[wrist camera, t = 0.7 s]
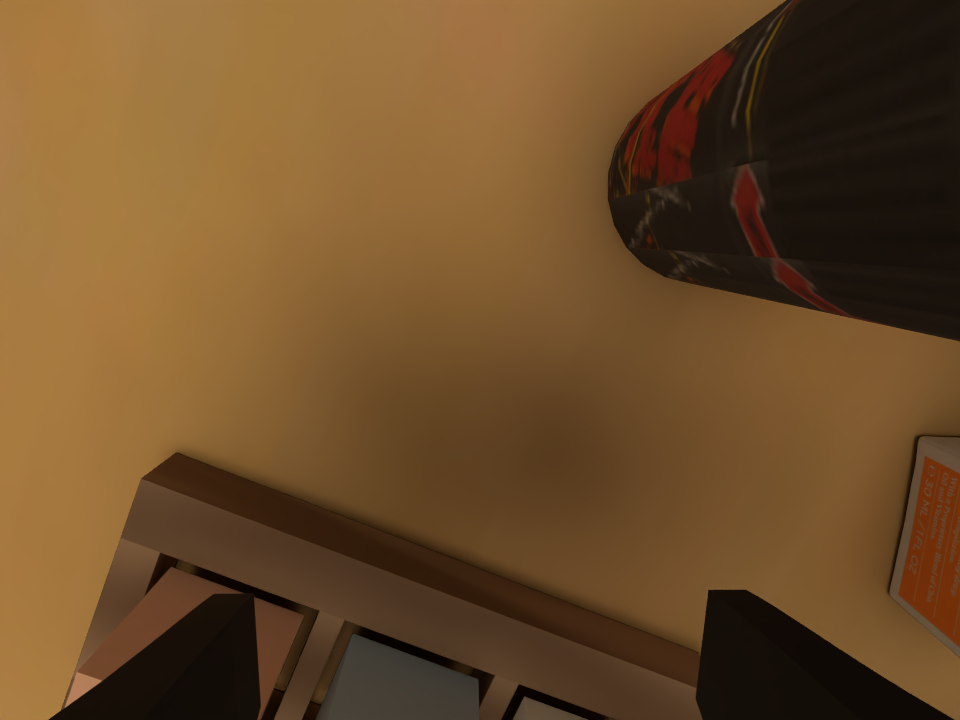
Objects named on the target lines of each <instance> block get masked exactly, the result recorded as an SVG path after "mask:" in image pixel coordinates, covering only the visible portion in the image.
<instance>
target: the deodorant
mask: <svg viewBox="0 0 960 720" xmlns="http://www.w3.org/2000/svg"><path fill="white" fill-rule="evenodd" d="M608 201H609V205H610V209H611V214H612V218H613V222H614V225H615V227H616V229H617V231H618V233H619V234H620V236H621V238H622V240H623V242H624V244H625V245H626V247H627V248H628V249H629V250H630V251H631V252H632V253H633V254H634V255H635V256H636V257H637V258H638V259H639V260H640V261H641V262H642V263H643V264H644V265H645V266H647V267H649V268H650V269H652V270H654V271H656V272H657V273H659V274H661V275H663V276H664V277H668V278H671V279H675V280H679V281H683V282H687V283H691V284H696V285H701V286H705V287H710V288H715V289H719V290H724V291H729V292H733V293H738V294H743V295H747V296H752V297H757V298H761V299H766V300H771V301H775V302H780V303H785V304H789V305H794V306H799V307H803V308H808V309H812V310H817V311H822V312H826V313H831V314H836V315H840V316H845V317H850V318H854V319H859V320H864V321H868V322H873V323H878V324H882V325H887V326H892V327H896V328H901V329H906V330H910V331H915V332H920V333H924V334H929V335H934V336H938V337H943V338H947V339H952V340H957V341H960V0H786V1H785V2H784V3H782V4H781V5H780V6H778V7H777V8H776V9H774V10H773V11H772V12H770V13H769V14H768V15H766V16H765V17H763V18H762V19H761V20H759V21H758V22H757V23H755V24H754V25H753V26H751V27H750V28H749V29H747V30H746V31H745V32H743V33H742V34H740V35H739V36H738V37H736V38H735V39H734V40H732V41H731V42H730V43H728V44H727V45H726V46H724V47H723V48H722V49H720V50H719V51H717V52H716V53H715V54H713V55H712V56H711V57H709V58H708V59H707V60H705V61H704V62H703V63H701V64H700V65H698V66H697V67H696V68H694V69H693V70H692V71H690V72H689V73H688V74H686V75H685V76H684V77H682V78H681V79H680V80H678V81H677V82H675V83H674V84H673V85H671V86H670V87H669V88H667V89H666V90H665V91H663V92H662V93H661V94H659V95H658V96H657V97H655V98H654V99H652V100H651V101H650V102H648V103H647V104H646V105H645V107H644V108H643V109H642V110H641V111H640V112H639V113H638V114H637V115H636V116H635V117H634V118H633V119H632V120H631V121H630V122H629V124H628V125H627V127H626V129H625V131H624V133H623V134H622V136H621V138H620V140H619V142H618V143H617V145H616V147H615V151H614V154H613V158H612V162H611V165H610V169H609V173H608Z"/></svg>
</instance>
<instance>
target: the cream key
mask: <svg viewBox="0 0 960 720" xmlns="http://www.w3.org/2000/svg"><path fill="white" fill-rule="evenodd" d="M513 720H588V719H585V718H582V717H579V716H577V715H574V714H571V713H568V712H566V711H563V710H560V709H557V708H555V707H552V706H549V705H546V704H544V703H541V702H538V701H536V700H533V699H530V698H527V697H525V696H524V698H523V700H522V702H521V704H520V706H519V708H518V710H517V712H516V714H515V716H514V718H513Z"/></svg>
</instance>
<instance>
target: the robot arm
mask: <svg viewBox="0 0 960 720" xmlns="http://www.w3.org/2000/svg"><path fill="white" fill-rule="evenodd" d="M695 699H696V702H697V705H698V708H699V710H700V713H701V716H702V719H703V720H954V719H952V718H951V717H949V716H947V715H946V714H944V713H942V712H940V711H939V710H937V709H935V708H934V707H932V706H930V705H929V704H927V703H925V702H923V701H922V700H920V699H918V698H917V697H915V696H913V695H912V694H910V693H908V692H907V691H905V690H903V689H902V688H900V687H898V686H897V685H895V684H894V683H892V682H890V681H889V680H887V679H886V678H884V677H882V676H881V675H879V674H878V673H876V672H874V671H873V670H871V669H870V668H868V667H866V666H865V665H863V664H862V663H860V662H859V661H857V660H856V659H854V658H852V657H851V656H849V655H848V654H846V653H845V652H843V651H842V650H840V649H839V648H837V647H836V646H834V645H832V644H831V643H829V642H828V641H826V640H825V639H823V638H822V637H820V636H819V635H817V634H816V633H814V632H813V631H811V630H810V629H808V628H807V627H805V626H804V625H802V624H800V623H799V622H797V621H796V620H794V619H793V618H791V617H790V616H788V615H787V614H785V613H784V612H782V611H780V610H779V609H777V608H776V607H774V606H773V605H771V604H769V603H768V602H766V601H765V600H763V599H761V598H759V597H758V596H756V595H754V594H752V593H751V592H749V591H747V590H709V591H708V599H707V607H706V615H705V624H704V632H703V640H702V648H701V656H700V665H699V673H698V681H697V689H696V697H695ZM260 708H261V698H260V682H259V666H258V651H257V635H256V619H255V603H254V593H242V594H213V595H211V596H210V597H209V598H207V599H206V600H205V601H203V602H202V603H201V604H199V605H198V606H197V607H195V608H194V609H193V610H192V611H190V612H189V613H188V614H187V615H185V616H184V617H183V618H182V619H180V620H179V621H178V622H177V623H175V624H174V625H173V626H172V627H170V628H169V629H168V630H167V631H165V632H164V633H163V634H162V635H160V636H159V637H158V638H157V639H155V640H154V641H153V642H152V643H150V644H149V645H148V646H146V647H145V648H144V649H143V650H141V651H140V652H139V653H137V654H136V655H135V656H134V657H132V658H131V659H130V660H128V661H127V662H126V663H125V664H123V665H122V666H121V667H120V668H118V669H117V670H116V671H114V672H113V673H112V674H111V675H109V676H108V677H107V678H105V679H104V680H103V681H101V682H100V683H99V684H97V685H96V686H94V687H93V688H92V689H90V690H89V691H88V692H86V693H85V694H83V695H82V696H81V697H79V698H78V699H76V700H75V701H74V702H72V703H71V704H70V705H68V706H67V707H65V708H64V709H63V710H61V711H60V712H58V713H57V714H56V715H54V716H53V717H51V718H50V719H49V720H257V719H258V716H259V712H260Z"/></svg>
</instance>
